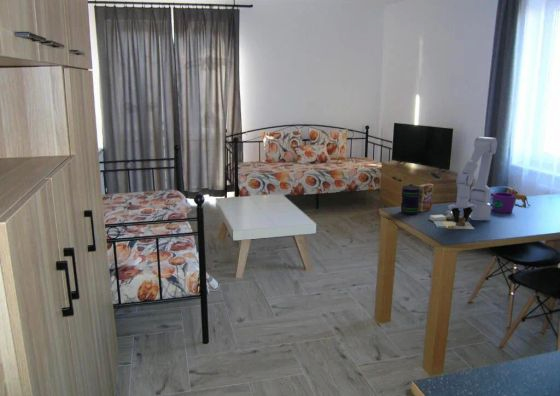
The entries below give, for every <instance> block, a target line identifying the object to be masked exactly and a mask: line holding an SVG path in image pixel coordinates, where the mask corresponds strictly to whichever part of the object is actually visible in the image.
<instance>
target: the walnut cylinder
mask: <svg viewBox="0 0 560 396" xmlns="http://www.w3.org/2000/svg"><path fill="white" fill-rule="evenodd" d="M463 216H464V215H463ZM463 216H462V215H461V216H459V219H458V223H456V225H457V226H465V220H466V218H465V217H463Z"/></svg>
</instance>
